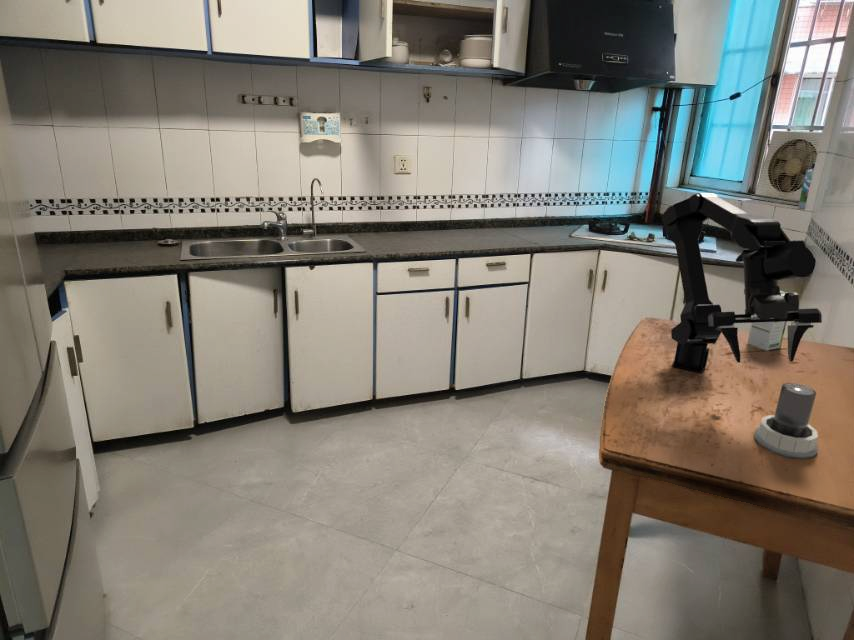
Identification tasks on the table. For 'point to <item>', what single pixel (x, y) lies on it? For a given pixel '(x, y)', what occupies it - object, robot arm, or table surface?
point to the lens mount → (786, 440)
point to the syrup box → (767, 333)
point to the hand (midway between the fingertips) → (764, 361)
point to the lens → (793, 410)
